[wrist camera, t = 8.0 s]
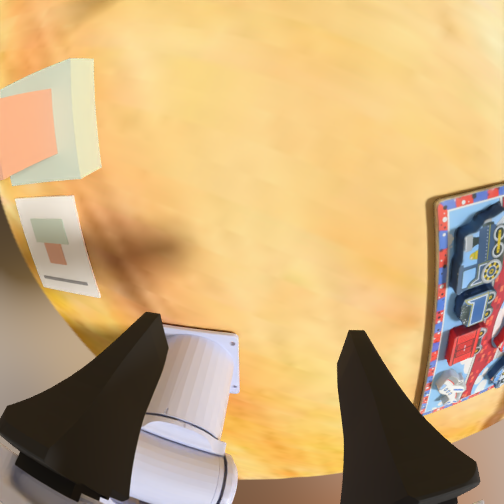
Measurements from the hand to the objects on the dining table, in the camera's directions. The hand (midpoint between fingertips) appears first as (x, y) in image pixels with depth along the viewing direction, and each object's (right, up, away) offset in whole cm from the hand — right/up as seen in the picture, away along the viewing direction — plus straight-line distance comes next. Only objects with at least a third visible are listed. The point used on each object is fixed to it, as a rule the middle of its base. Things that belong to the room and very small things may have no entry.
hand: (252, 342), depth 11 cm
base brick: (-14, +13, +6) cm, 21 cm away
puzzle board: (+28, -2, +11) cm, 30 cm away
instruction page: (-18, +4, +12) cm, 22 cm away
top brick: (-15, +12, +3) cm, 19 cm away
